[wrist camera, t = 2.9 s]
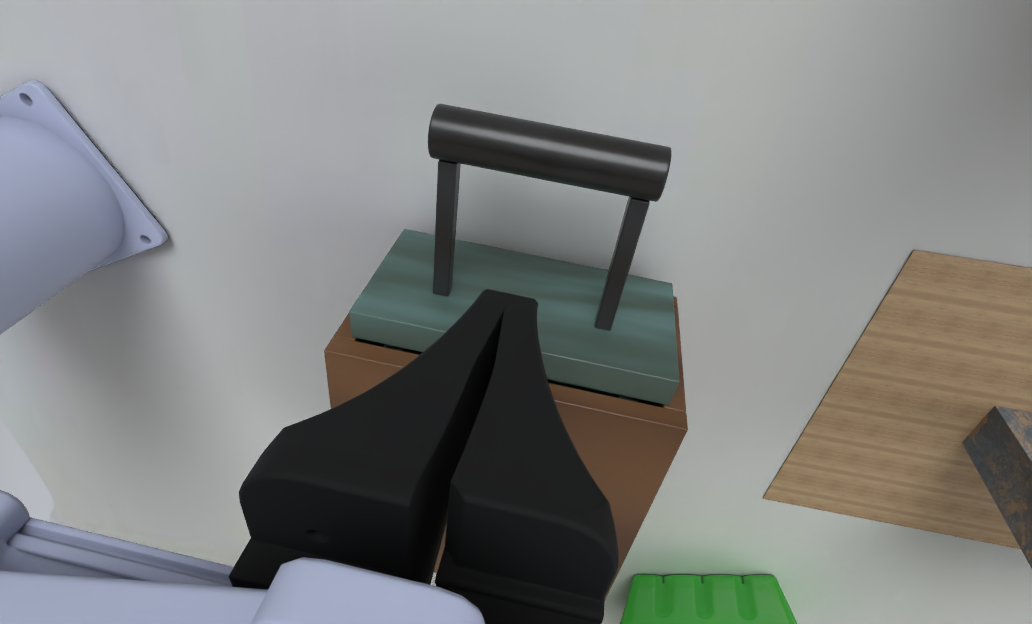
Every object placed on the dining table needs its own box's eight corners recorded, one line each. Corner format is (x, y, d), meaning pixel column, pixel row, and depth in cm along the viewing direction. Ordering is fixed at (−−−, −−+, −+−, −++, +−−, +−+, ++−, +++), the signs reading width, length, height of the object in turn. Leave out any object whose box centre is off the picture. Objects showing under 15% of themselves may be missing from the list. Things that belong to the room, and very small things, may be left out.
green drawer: (404, 59, 20) (334, 115, 15) (732, 120, 19) (760, 197, 15) (403, 421, 32) (363, 512, 27) (604, 466, 31) (598, 568, 27)
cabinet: (397, 239, 26) (323, 350, 20) (677, 296, 25) (688, 429, 19) (398, 433, 34) (347, 551, 28) (607, 480, 33) (599, 612, 27)
